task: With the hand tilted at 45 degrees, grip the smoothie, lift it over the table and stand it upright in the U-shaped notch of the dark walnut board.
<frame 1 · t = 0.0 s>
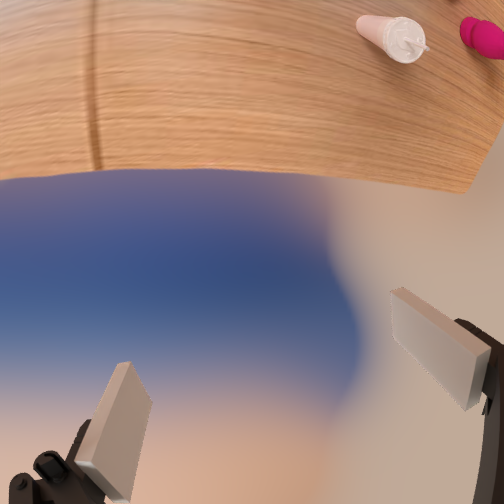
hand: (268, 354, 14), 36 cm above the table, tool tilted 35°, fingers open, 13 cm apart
pepper mill: (469, 31, 33), on the table
smoothie: (366, 25, 33), on the table
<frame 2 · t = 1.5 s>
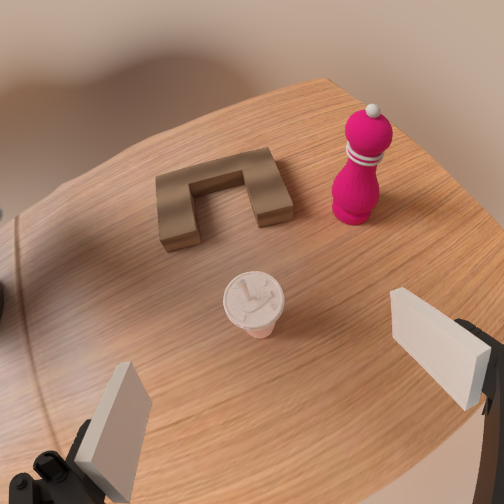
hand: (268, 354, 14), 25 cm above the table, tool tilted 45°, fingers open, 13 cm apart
notched board: (223, 210, 50), on the table
pepper mill: (350, 210, 48), on the table
smoothie: (260, 325, 40), on the table
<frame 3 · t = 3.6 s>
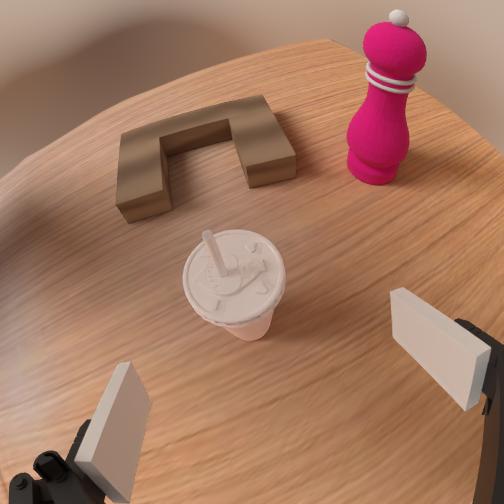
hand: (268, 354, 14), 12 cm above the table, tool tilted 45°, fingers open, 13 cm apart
notched board: (204, 169, 37), on the table
pepper mill: (371, 167, 35), on the table
smoothie: (249, 321, 27), on the table
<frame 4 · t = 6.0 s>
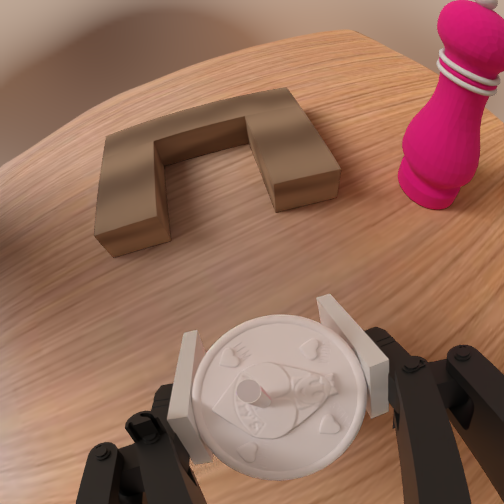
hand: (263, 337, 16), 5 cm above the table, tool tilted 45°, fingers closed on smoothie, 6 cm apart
notched board: (212, 184, 28), on the table
pepper mill: (426, 186, 26), on the table
smoothie: (282, 406, 18), on the table, touching gripper
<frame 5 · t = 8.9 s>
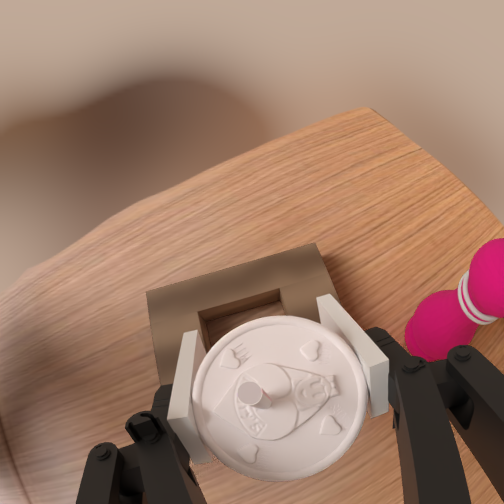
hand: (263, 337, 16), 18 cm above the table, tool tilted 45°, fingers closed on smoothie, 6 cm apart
notched board: (253, 347, 33), on the table
pepper mill: (427, 336, 31), on the table
smoothie: (283, 406, 18), point 13 cm above the table, touching gripper
when the fingers open (6 cm above the table, at t = 12.0 s): smoothie drops 1 cm, on the table.
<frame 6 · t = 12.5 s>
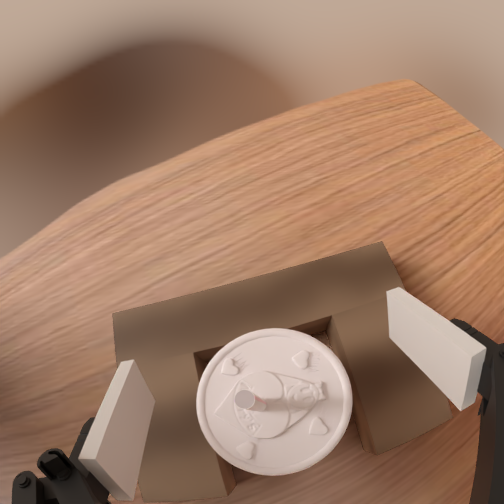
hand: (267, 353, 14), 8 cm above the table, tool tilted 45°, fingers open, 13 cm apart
notched board: (282, 406, 20), on the table
smoothie: (280, 408, 20), on the table
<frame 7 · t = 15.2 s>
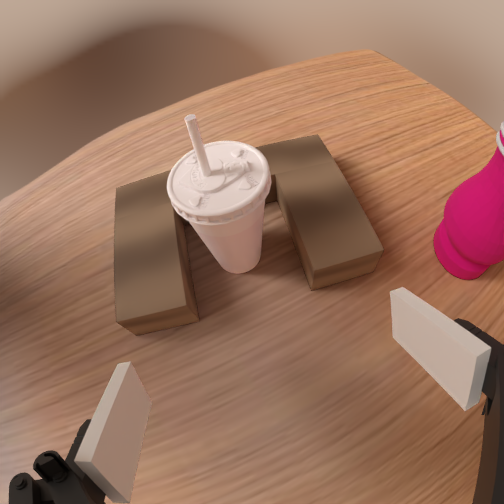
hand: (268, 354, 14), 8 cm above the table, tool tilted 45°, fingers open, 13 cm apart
notched board: (241, 252, 27), on the table
pepper mill: (460, 251, 24), on the table
smoothie: (239, 255, 27), on the table
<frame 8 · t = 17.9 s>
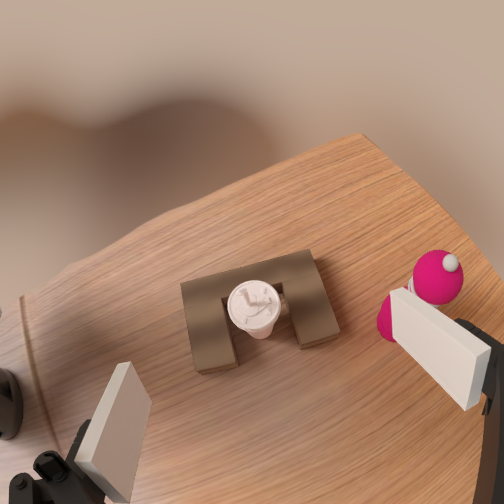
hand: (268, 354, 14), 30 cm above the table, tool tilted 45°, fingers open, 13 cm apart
notched board: (261, 326, 45), on the table
pepper mill: (395, 323, 43), on the table
smoothie: (260, 327, 45), on the table
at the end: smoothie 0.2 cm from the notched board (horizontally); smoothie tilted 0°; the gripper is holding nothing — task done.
